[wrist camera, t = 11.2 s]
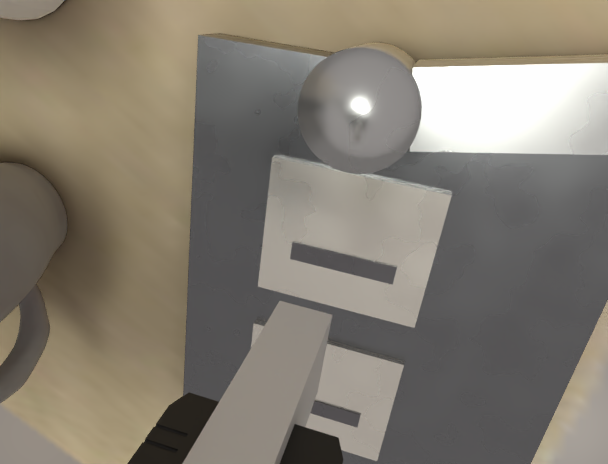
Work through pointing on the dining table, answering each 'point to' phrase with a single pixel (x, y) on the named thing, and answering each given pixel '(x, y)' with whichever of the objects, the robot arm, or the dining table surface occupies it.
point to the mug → (26, 263)
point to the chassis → (390, 270)
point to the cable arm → (450, 106)
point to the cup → (27, 8)
